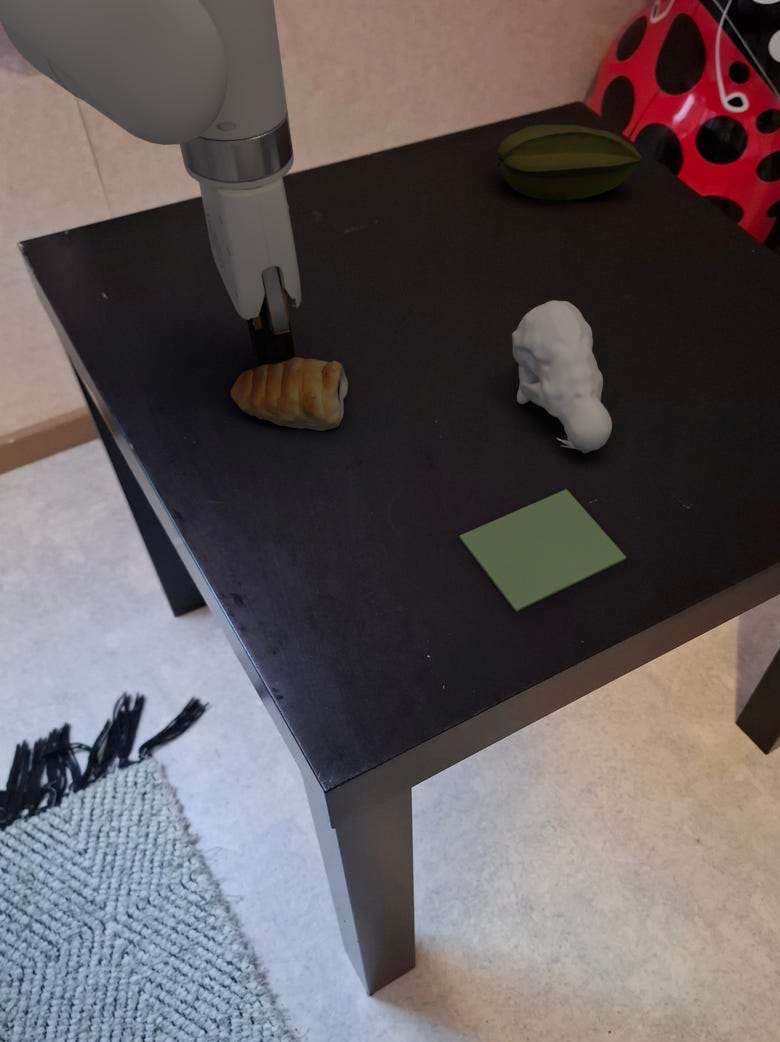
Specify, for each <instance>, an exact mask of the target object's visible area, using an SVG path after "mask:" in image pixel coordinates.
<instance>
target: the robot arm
mask: <svg viewBox="0 0 780 1042" xmlns="http://www.w3.org/2000/svg"><path fill="white" fill-rule="evenodd" d="M0 23H1V27H2V28H3V30H4V33H5V34H6V36H7V38H8V40H9V41H10V43H11V44H12V45H13V47H14V48H15V50H16V51H17V52H18V53H19V54H20V56H21V57H22V58H23V59H25V61H27V62H28V64H30V65H31V66H32V67H33V68H34V69H35V70H37V71H38V72H40V74H42V75H44V76H45V77H46V78H48V79H50V80H51V81H53V82H54V83H55V84H57V85H58V86H60V87H61V88H62V89H64V90H65V91H67V92H69V93H70V94H71V95H73V96H74V97H76V98H77V99H79V100H81V101H82V102H85V103H86V104H87V105H89V106H90V107H92V108H93V109H95V110H96V111H98V112H99V113H100V114H102V115H103V116H105V117H106V118H108V120H110V121H112V122H113V123H114V124H116V125H117V126H118V127H120V128H122V129H123V130H124V131H125V132H127V133H129V134H131V135H132V136H134V137H135V138H138V139H140V140H142V141H145V142H148V143H151V144H155V145H156V144H157V145H161V146H176V145H179V148H180V152H181V157H182V163H183V167H184V169H185V171H186V173H187V174H188V175H189V176H190V177H191V178H192V179H194V180H195V181H196V182H198V185H199V190H200V196H201V200H202V206H203V207H202V208H203V211H204V217H205V221H206V228H207V233H208V240H209V244H210V248H211V254H212V257H213V260H214V262H215V265H216V268H217V270H218V273H219V275H220V277H221V279H222V282H223V284H224V286H225V289H226V291H227V293H228V295H229V297H230V300H231V303H232V304H233V306H234V309H235V310H236V312H237V314H238V315H239V316H240V317H241V318H242V319H244V320H246V323H247V328H248V333H249V337H250V343H251V347H252V351H253V354H254V356H255V358H256V361H257V363H258V365H259V366H263V365H266V364H270V365H271V364H276V363H280V362H284V361H288V360H290V359H292V358H295V356H296V351H295V345H294V344H295V343H294V338H293V332H292V326H291V319H290V315H289V308H288V302H289V304H290V306H291V307H292V308H294V309H295V310H297V309H298V308H299V306H301V303H302V288H301V278H300V271H299V266H298V258H297V252H296V245H295V239H294V234H293V227H292V222H291V216H290V206H289V204H288V199H287V194H286V189H285V183H284V178H283V177H284V176H286V175H287V174H288V173H289V172H290V170H291V169H292V167H293V165H294V160H295V155H294V149H293V141H292V133H291V126H290V118H289V111H288V103H287V95H286V89H285V88H286V87H285V80H284V72H283V64H282V58H281V50H280V49H281V48H280V42H279V40H280V39H279V34H278V26H277V25H278V24H277V17H276V8H275V1H274V0H0Z"/></svg>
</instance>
